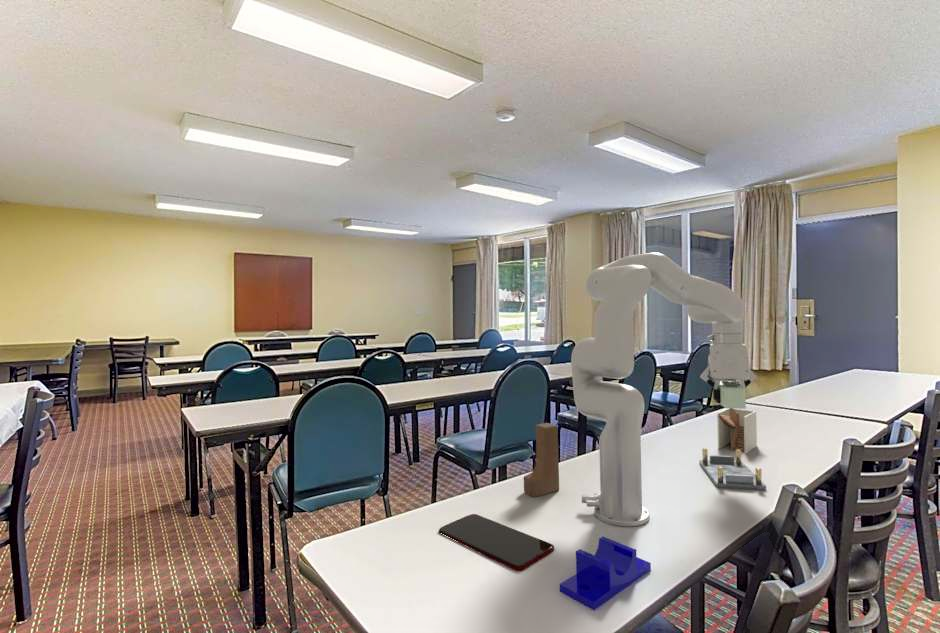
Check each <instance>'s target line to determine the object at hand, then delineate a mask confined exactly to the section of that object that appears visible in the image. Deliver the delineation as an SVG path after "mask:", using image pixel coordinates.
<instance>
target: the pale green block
mask: <svg viewBox="0 0 940 633" xmlns="http://www.w3.org/2000/svg"><path fill="white" fill-rule="evenodd" d="M719 389H720V398H721V403H718V404H719V405H720V406H721V407H723V408H724V409H728V408H733V409H741V410H746V408H747V406H746V402H747V400H746V389H745V388H743V387H741V386H739V385H738V384H737V382H734V381H733V380H721V381H720V384H719Z"/></svg>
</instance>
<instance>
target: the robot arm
mask: <svg viewBox="0 0 940 633" xmlns="http://www.w3.org/2000/svg"><path fill="white" fill-rule="evenodd" d="M585 289H586V290H585V291H586V293H587V295H588V296H589V297H590V298H591V299H592V300H594V301H597V302H600V303H599V304H598V307H597V309H596V312H595V316H594V337H584V338H582V339H580V340H579V341H578V342H577V343H576V344H575V346H574V347H573V349H572V352H571V357H570V361H571V362H570V363H571V364H570V366H571V378H572V379H571V380H572V389H573V398H574V403H575V406H576V409H577V411H578V412H579V413H580V414H582V415H583V416H585V417H588V418H591V419H596V420H599V421H603V422H605V426H604V428H603V430H602V431H601V433H600V436H599V440H598V449H599V451H598V452H599V455H598V456H599V487H600V490H598V494H596V493H595V494H594V495H590V494H589V495H588V494H581V503H582V504H586V507H594V510H593V511H594V516H595V517H596V518H597V519H599V520H600V521H602V522H603V523H606V524H609V525H613V526H619V527H636V526H641V525H644V524H646V523H647V522H648V521H649V520H650V512H649V510H648V509H647V508H646V507H645V506H643V492H642V491H643V490H642V484H643V483H642V482H643V481H642V480H643V479H642V453H641V452H642V445H641V444H642V443H641V441H642V439H641V438H642V435H641V434H642V424H643V417H644V414H645V399H644V396H643V395H642V393H641V392H640V391H639V389H637V388H635V387H633V386H631V385H629V384H624V383H619V382H612V381H604V380H603V378H608V379H626V378H628V377H630V375H632V373H633V371H634V367H635V353H634V337H633V316H634V313H635V311H636V308H637V307H638V305H639V304H640V302H641V301H642V300H643V299H644V297H645V296H646V295H647V294H648V293H649V290H651V289H652V290H653V291H655V292H656V293H658V294H660V295H661V296H662V297H664V298H665V299H666V300H668V301H669V302H672V303H674V304H678V305H682V306H687V309H686V312H687V316H688V317H689V318H690V320H692V321H694V322H696V323H698V324H712V333H711V335H707V336H706V340H707V341H710V342H712V343H711V344H710V345H709V351H708V357H707V358H708V360H707V367H706V368H705V369H704V370H703V371H702V373H701V374H700V375H699V377H700V379H702V381H704V382H706V383H707V384H708V385H709V386H710V387H711V388H712V392H713V393H712V395H713V396H712V398H713V401H715V403H716V404H719V403H721V398H720V389H719V384H720V381H721V380H728V381H734V380H735V381H736V384H738V385H739V386H741V387H743V388H745V390H746V389H747V387H748V386H749V385H750V384H752V382H754V381H755V380H757V379H758V376H757V375H756V374H755V372H753V370H752V369H751V368H750V360H749V354H748V348H747V347H748V346H747V345H746V344H744V343H743V318H744V316H745V311H746V308H745V304H744V300H742V298H741V297H740V296H739V294H737V293H736V292H735V291H733V290H732V289H731V288H730V287H728V286H726V285H724V284H721V283H719V282H716V281H712V280H710V279H709V280H708V279H706V278H703V277H700V276H696V275H693V274H691V273H690V272H688V271H687V270H686V269H685V268H683V267H681V266H680V265H679V264H677V263H676V262H675V261H674V260H672V259H670V258H669V256H667V255H665V254H663V253H660V252H647V253H641V254H633V255H627V256H624V257H621V258H619V259H617V260H614V261H612V262H609V263H607V264H605V265H602V266H600V267H598V268H595V269H594V270H592V271H591V272H590V273H589V275H588V276H587V278H586V282H585ZM708 376H709V377H711V378H712V380H711V379H710V378H709V377H708Z"/></svg>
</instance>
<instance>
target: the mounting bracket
mask: <svg viewBox="0 0 940 633" xmlns="http://www.w3.org/2000/svg"><path fill="white" fill-rule="evenodd" d="M575 562H576V565H575V566H576V568H575V570H576V574H574V575H573V576H571V577H569V578H568V579H565V580H564V581H563V582H561V583H559V592H560V593H561V592H562V593H561V594H563V593H564V596H566V595H567V597H568V596H569V597H568V598H570V597H571V598H570V599H572V600H573V601H575V600H576V601H575V602H577V601H578V602H577V603H579V602H580V603H579V604H581V603H582V604H581V605H583V604H584V605H585V607H586V606H587V607H586V608H588V607H589V608H588V609H590V608H591V609H590V610H592V609H593V610H594V609H596V608H597V609H598V608H600V607H601V606H603V605H604V604H605V603H607V602H609V599H610V600H611V599H613V598H614V597H615V596H617V595H618V594H619V592H620V593H621V592H622V591H624V590H625V589H626V588H628V587H630V586H631V585H632V584H634V583H635V582H636V581H638V580H639V579H641V578H642V577H643V576H645V575H646V574H648V573H649V572H650V571H652V567H651V566H652V565H651V562H649V561H647V560H645V559H643V558H640V557H637V549H635V548H633V547H630V546H628V545H625V544H622V543H620V542H617V541H616V540H613V539H611V538H608V537H605V536H601V537H599V538H598V546H597V549H596V551H595V554H592V553H590V552H588V551H585V550H583V549H581V548H580V549H577V550H576V551H575ZM616 594H617V595H616ZM584 605H583V606H584ZM599 606H600V607H599ZM597 609H596V610H597ZM593 610H592V611H593ZM594 611H595V610H594Z"/></svg>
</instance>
